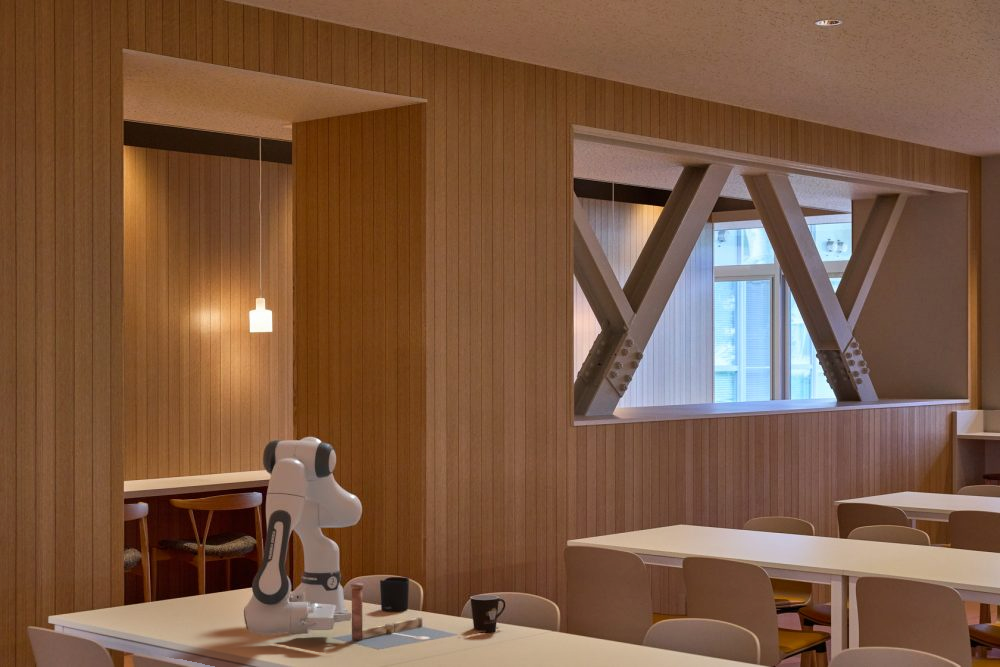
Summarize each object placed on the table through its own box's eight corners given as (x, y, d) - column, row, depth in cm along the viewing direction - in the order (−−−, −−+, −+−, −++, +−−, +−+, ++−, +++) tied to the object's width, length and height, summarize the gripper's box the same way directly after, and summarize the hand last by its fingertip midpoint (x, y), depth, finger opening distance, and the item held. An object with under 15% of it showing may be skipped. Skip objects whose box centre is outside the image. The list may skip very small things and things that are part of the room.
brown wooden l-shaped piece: (380, 632, 365) (380, 578, 366) (389, 633, 363) (389, 580, 363) (348, 639, 355) (348, 584, 356) (356, 640, 353) (356, 585, 353)
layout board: (332, 640, 359) (332, 637, 359) (411, 626, 378) (411, 623, 378) (378, 652, 343) (378, 648, 343) (458, 637, 362) (458, 634, 362)
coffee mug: (474, 634, 366) (474, 600, 366) (467, 629, 374) (467, 595, 375) (512, 632, 369) (512, 598, 369) (504, 627, 377) (504, 593, 378)
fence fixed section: (389, 634, 363) (389, 625, 364) (383, 633, 365) (383, 624, 365) (424, 626, 375) (424, 618, 375) (418, 625, 376) (418, 617, 377)
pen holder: (376, 608, 410) (376, 578, 410) (403, 606, 414) (403, 576, 414) (385, 613, 402) (385, 582, 402) (413, 611, 405) (413, 580, 406)
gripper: (299, 613, 344) (349, 612, 345) (304, 600, 364) (352, 599, 366) (299, 636, 344) (350, 635, 345) (304, 622, 364) (352, 621, 365)
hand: (351, 616), depth 355 cm, fingers closed
